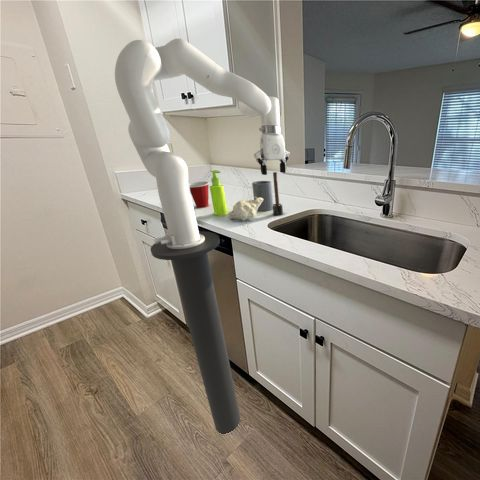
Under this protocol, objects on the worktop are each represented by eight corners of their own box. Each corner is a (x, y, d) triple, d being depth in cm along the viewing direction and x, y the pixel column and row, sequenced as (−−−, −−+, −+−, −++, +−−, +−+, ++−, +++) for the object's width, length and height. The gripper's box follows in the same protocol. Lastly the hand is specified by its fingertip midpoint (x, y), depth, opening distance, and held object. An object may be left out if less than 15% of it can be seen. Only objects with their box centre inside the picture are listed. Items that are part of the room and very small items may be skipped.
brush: (277, 216, 117) (273, 173, 110) (271, 214, 120) (267, 172, 113) (284, 214, 120) (281, 172, 113) (279, 212, 123) (276, 171, 116)
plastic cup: (187, 206, 136) (182, 183, 131) (208, 202, 142) (204, 180, 138) (194, 210, 128) (189, 186, 124) (216, 206, 135) (212, 183, 130)
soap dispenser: (219, 216, 118) (211, 171, 110) (212, 213, 122) (204, 170, 115) (231, 213, 122) (224, 170, 114) (223, 211, 126) (217, 169, 119)
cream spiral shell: (229, 229, 108) (254, 207, 104) (219, 215, 109) (244, 192, 105) (249, 228, 123) (271, 208, 119) (240, 216, 124) (263, 196, 120)
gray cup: (261, 212, 124) (258, 184, 119) (251, 208, 130) (248, 182, 125) (277, 208, 129) (274, 182, 124) (266, 205, 135) (264, 180, 130)
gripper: (257, 130, 98) (261, 176, 105) (293, 131, 110) (294, 172, 116) (247, 130, 103) (251, 174, 110) (282, 131, 115) (284, 171, 121)
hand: (273, 173), depth 113 cm, fingers open, 9 cm apart
